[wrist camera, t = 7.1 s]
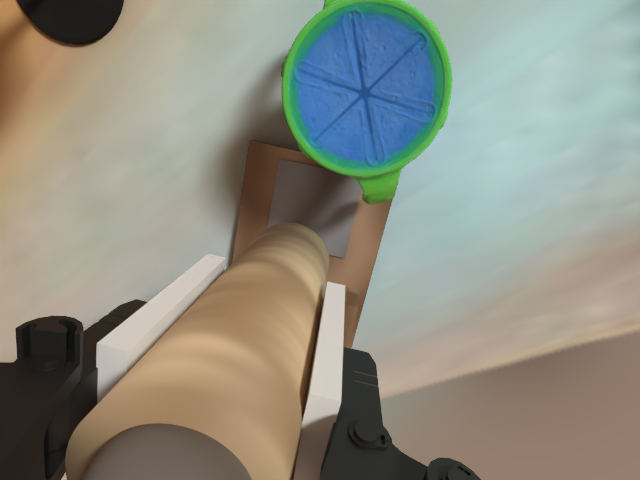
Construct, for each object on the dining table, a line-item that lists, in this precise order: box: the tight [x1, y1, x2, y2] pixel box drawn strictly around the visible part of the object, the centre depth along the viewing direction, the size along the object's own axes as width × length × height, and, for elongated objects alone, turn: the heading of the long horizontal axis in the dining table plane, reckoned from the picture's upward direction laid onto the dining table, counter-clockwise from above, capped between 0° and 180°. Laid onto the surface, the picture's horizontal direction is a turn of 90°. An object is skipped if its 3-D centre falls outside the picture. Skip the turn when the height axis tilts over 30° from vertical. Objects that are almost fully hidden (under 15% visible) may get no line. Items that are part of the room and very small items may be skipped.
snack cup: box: [281, 0, 452, 205], centre depth 26 cm, size 16×10×10 cm
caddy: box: [232, 141, 392, 349], centre depth 33 cm, size 14×22×5 cm, turn 168°
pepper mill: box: [65, 222, 329, 480], centre depth 12 cm, size 4×4×15 cm
